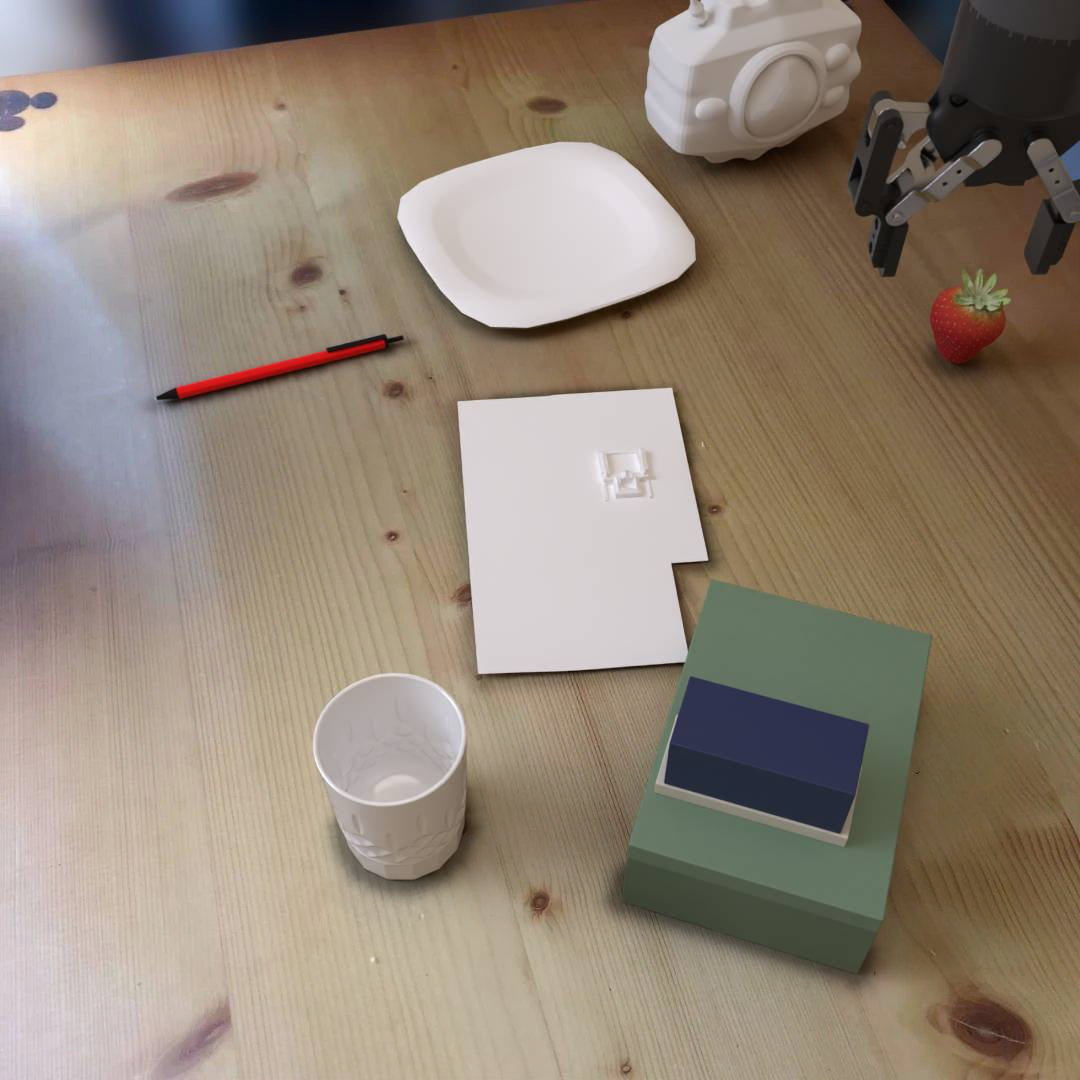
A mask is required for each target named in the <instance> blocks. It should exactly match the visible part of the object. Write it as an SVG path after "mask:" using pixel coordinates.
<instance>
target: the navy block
mask: <svg viewBox="0 0 1080 1080" xmlns="http://www.w3.org/2000/svg"><path fill="white" fill-rule="evenodd" d="M868 729H869V724H867V723H863V722H859V721H856V720H852V719H848V718H844V717H841V716H837V715H833V714H830V713H826V712H822V711H818V710H815V709H811V708H807V707H804V706H800V705H796V704H792V703H789V702H785V701H781V700H778V699H774V698H770V697H766V696H763V695H759V694H755V693H751V692H748V691H744V690H740V689H737V688H733V687H729V686H725V685H722V684H718V683H714V682H711V681H707V680H703V679H699V678H696V677H692V676H690V677H689V681H688V684H687V687H686V691H685V694H684V697H683V700H682V704H681V707H680V710H679V714H678V715H676V718H675V721H674V724H673V728H672V731H671V734H670V737H669V741H668V744H667V747H666V751H665V754H664V757H663V760H662V764H661V767H660V770H659V773H658V777H657V780H656V783H655V791H654V792H655V793H658V794H662V795H665V796H669V797H672V798H675V799H679V800H682V801H686V802H689V803H693V804H696V805H700V806H703V807H707V808H710V809H714V810H717V811H720V812H724V813H727V814H731V815H734V816H738V817H741V818H745V819H748V820H752V821H755V822H759V823H762V824H765V825H769V826H772V827H776V828H779V829H783V830H786V831H790V832H793V833H797V834H800V835H804V836H807V837H810V838H814V839H817V840H821V841H824V842H828V843H831V844H835V845H838V846H842V847H845V845H846V842H847V840H848V836H849V831H850V826H851V821H852V816H853V811H854V805H855V800H856V795H857V790H858V785H859V780H860V775H861V769H862V766H861V765H862V760H863V755H864V750H865V744H866V739H867V734H868Z"/></svg>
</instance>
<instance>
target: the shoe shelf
mask: <svg viewBox="0 0 1080 1080" xmlns="http://www.w3.org/2000/svg"><path fill="white" fill-rule="evenodd" d="M932 639H933V635H932V634H929V633H926V632H921V631H917V630H914V629H909V628H907V627H906V628H905V627H902V626H898V625H894V624H890V623H885V622H882V621H878V620H874V619H870V618H868V617H867V618H866V617H862V616H859V615H854V614H850V613H846V612H843V611H839V610H836V609H835V610H834V609H831V608H828V607H823V606H819V605H815V604H811V603H809V602H808V603H807V602H803V601H799V600H795V599H793V598H792V599H791V598H788V597H784V596H780V595H776V594H773V593H768V592H765V591H761V590H756V589H752V588H749V587H744V586H740V585H737V584H732V583H729V582H725V581H721V580H717V579H714V578H711V579H710V581H709V584H708V587H707V590H706V594H705V596H704V599H703V603H702V606H701V609H700V613H699V616H698V619H697V622H696V626H695V629H694V632H693V635H692V638H691V642H690V644H689V648H688V654H687V657H686V661H685V662H684V664H683V667H682V671H681V674H680V677H679V680H678V683H677V687H676V690H675V693H674V696H673V699H672V702H671V706H670V708H669V712H668V715H667V719H666V722H665V725H664V728H663V731H662V734H661V738H660V741H659V744H658V747H657V750H656V754H655V757H654V760H653V763H652V766H651V768H650V773H649V775H648V780H647V781H646V782H647V783H646V786H645V789H644V792H643V796H642V799H641V802H640V805H639V809H638V811H637V815H636V817H635V821H634V824H633V828H632V831H631V834H630V837H629V840H628V844H627V851H626V852H627V853H626V860H625V867H624V877H623V887H622V896H621V902H622V903H624V904H628V905H632V906H635V907H637V908H642V909H645V910H648V911H650V912H655V913H657V914H661V915H664V916H668V917H671V918H674V919H676V920H680V921H683V922H687V923H690V924H693V925H696V926H699V927H703V928H706V929H709V930H712V931H716V932H719V933H722V934H726V935H729V936H732V937H735V938H739V939H742V940H743V941H744V940H745V941H748V942H751V943H754V944H758V945H761V946H764V947H766V948H767V947H768V948H770V949H774V950H777V951H781V952H784V953H786V954H789V955H793V956H796V957H800V958H803V959H805V960H809V961H813V962H815V963H819V964H822V965H825V966H829V967H832V968H835V969H838V970H841V971H845V972H848V973H851V974H854V975H857V974H858V973H859V971H860V970H861V967H862V965H863V963H864V962H865V960H866V957H867V955H868V954H869V951H870V950H871V947H872V946H873V944H874V942H875V939H876V937H877V936H878V934H879V931H880V929H881V927H882V926H883V923H884V921H885V917H886V911H887V904H888V898H889V892H890V887H891V882H892V881H891V880H892V875H893V868H894V862H895V858H896V851H897V845H898V840H899V834H900V827H901V822H902V818H903V817H902V816H903V810H904V803H905V799H906V793H907V786H908V780H909V775H910V769H911V763H912V758H913V751H914V745H915V740H916V734H917V728H918V721H919V717H920V710H921V704H922V699H923V692H924V687H925V681H926V675H927V669H928V664H929V657H930V651H931V646H932ZM690 676H692V677H696V678H699V679H703V680H707V681H711V682H714V683H718V684H722V685H725V686H729V687H733V688H737V689H740V690H744V691H748V692H751V693H755V694H759V695H763V696H766V697H770V698H774V699H778V700H781V701H785V702H789V703H792V704H796V705H800V706H804V707H807V708H811V709H815V710H818V711H822V712H826V713H830V714H833V715H837V716H841V717H844V718H848V719H852V720H856V721H859V722H863V723H867V724H869V729H868V734H867V739H866V744H865V750H864V755H863V760H862V765H861V766H862V769H861V775H860V780H859V785H858V790H857V795H856V800H855V805H854V811H853V816H852V821H851V826H850V831H849V836H848V840H847V842H846V845H845V847H842V846H838V845H835V844H831V843H828V842H824V841H821V840H817V839H814V838H810V837H807V836H804V835H800V834H797V833H793V832H790V831H786V830H783V829H779V828H776V827H772V826H769V825H765V824H762V823H759V822H755V821H752V820H748V819H745V818H741V817H738V816H734V815H731V814H727V813H724V812H720V811H717V810H714V809H710V808H707V807H703V806H700V805H696V804H693V803H689V802H686V801H682V800H679V799H675V798H672V797H669V796H665V795H662V794H658V793H655V792H654V791H655V783H656V780H657V777H658V773H659V770H660V767H661V764H662V760H663V757H664V754H665V751H666V747H667V744H668V741H669V737H670V734H671V731H672V728H673V724H674V721H675V718H676V715H678V714H679V710H680V707H681V704H682V700H683V697H684V694H685V691H686V687H687V684H688V681H689V677H690Z"/></svg>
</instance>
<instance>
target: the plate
mask: <svg viewBox="0 0 1080 1080" xmlns="http://www.w3.org/2000/svg"><path fill="white" fill-rule="evenodd" d="M396 219H397V222H398V224H399V227H400V229H401V231H402V234H403V236H404V238H405V240H406V243H407V245H408V246H409V247H410V249H411V251H412V252H413V254H414V255H415V257H416V258H417V260H418V262H419V263H420V264H421V266H422V268H423V269H424V271H425V272H426V274H427V275H428V276H429V278H430V279H431V280H432V282H433V284H434V285H435V286H436V288H437V289H438V290H439V292H440V293H441V294H442V295H443V296H444V297H445V298H446V299H447V301H448V302H449V303H450V304H451V305H452V306H453V307H454V308H455V309H456V311H458V312H459V313H460V314H461V315H462V316H464V317H466V318H468V319H470V320H473V321H475V322H477V323H479V324H481V325H483V326H485V327H486V328H489V329H494V330H496V329H497V330H499V329H500V330H531V329H536V328H540V327H544V326H548V325H552V324H558V323H562V322H567V321H570V320H573V319H576V318H579V317H583V316H586V315H589V314H592V313H595V312H598V311H602V310H605V309H608V308H611V307H614V306H617V305H620V304H623V303H625V302H628V301H631V300H634V299H637V298H640V297H642V296H646V295H647V294H648V295H649V294H650V293H652V292H654V291H657V290H658V289H661V288H663V287H665V286H668V285H670V284H673V283H674V282H677V281H678V280H679V279H680V278H681V277H682V276H683V275H685V273H686V272H687V271H688V270H689V269H690V268H691V267H692V266H693V265H694V264H695V263H696V261H697V260H696V259H697V257H696V243H695V242H696V239H695V238H696V237H694V235H693V234H692V232H691V231H690V228H688V226H687V225H686V223H685V221H684V220H683V218H682V216H681V215H680V214H679V213H678V212H677V211H676V210H675V209H674V207H673V206H672V205H671V204H670V203H669V202H668V200H667V199H666V198H665V197H664V196H663V195H662V194H661V192H660V191H658V189H656V187H655V186H654V185H653V184H652V183H651V182H650V181H649V179H648V178H646V177H645V175H644V174H643V173H642V172H641V171H640V170H639V169H637V168H636V167H635V166H634V165H632V164H631V163H630V162H629V161H628V160H627V159H626V158H624V157H623V156H622V155H620V154H619V153H618V152H615V151H613V150H610V149H608V148H606V147H603V146H601V145H598V144H596V143H594V142H587V141H586V142H579V141H556V142H551V143H546V144H541V145H534V146H532V147H531V146H530V147H525V148H521V149H518V150H514V151H511V152H507V153H503V154H499V155H495V156H492V157H489V158H485V159H481V160H478V161H475V162H471V163H468V164H465V165H462V166H458V167H455V168H452V169H450V170H447V171H445V172H442V173H440V174H437V175H434V176H432V177H429V178H426V179H424V180H421V181H420V182H419V183H417V184H416V185H415V186H414V187H412V188H411V189H410V190H409V191H407V192H406V193H405V194H404V195H402V196H401V197H400V200H399V206H398V212H397V215H396Z"/></svg>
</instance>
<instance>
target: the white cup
mask: <svg viewBox="0 0 1080 1080" xmlns="http://www.w3.org/2000/svg"><path fill="white" fill-rule="evenodd" d="M467 744H468V731H467V724H466V719H465V717H464V714H463V711H462V709H461V707H460V705H459V704H458V702H457V701H456V699H455V698H454V697H453V696H452V695H451V694H450V693H449V692H448V691H447V690H446V689H445V688H444V687H442V685H440V684H437V682H434V681H432V680H431V679H428V678H426V677H424V676H420V675H416V674H414V673H413V674H412V673H407V672H385V673H384V672H383V673H377V674H374V675H370V676H366V677H364V678H361V679H359V680H357V681H354V682H353V683H351V684H349V685H347V686H345V688H343V689H342V690H340V691H339V692H338V693H337V694H336V695H335V696H333V697H332V698H331V700H330V701H329V702H328V703H327V704H326V706H325V707H324V708H323V710H322V712H321V713H320V715H319V716H318V719H317V721H316V724H315V727H314V731H313V735H312V753H313V758H314V762H315V764H316V768H317V770H318V773H319V776H320V778H321V782H322V784H323V787H324V790H325V793H326V795H327V798H328V801H329V803H330V806H331V809H332V811H333V814H334V816H335V818H336V821H337V823H338V825H339V828H340V829H341V832H342V834H343V835H344V837H345V840H346V843H347V846H348V849H349V850H350V851H351V853H352V854H353V855H354V857H355V858H356V859H357V861H358V862H359V864H360V865H361V866H362V867H363V869H365V870H367V871H368V872H372V873H374V874H375V875H377V876H380V877H382V878H384V879H386V880H409V881H411V880H417V879H420V878H421V877H424V876H427V875H428V874H430V873H433V872H435V871H438V870H440V869H441V868H442V867H443V866H444V864H445V863H446V862H448V860H449V859H450V858H451V857H452V856H453V855H454V854H455V853H456V852H457V850H458V849H459V845H460V842H461V838H462V835H463V832H464V829H465V826H466V825H465V824H466V823H465V821H466V820H465V817H466V816H465V812H466V805H467V804H466V803H467V784H468V767H467V766H468V763H467V762H468V759H467V756H468V755H467V754H468V752H467V751H468V750H467V749H468V747H467V746H468V745H467Z"/></svg>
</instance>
